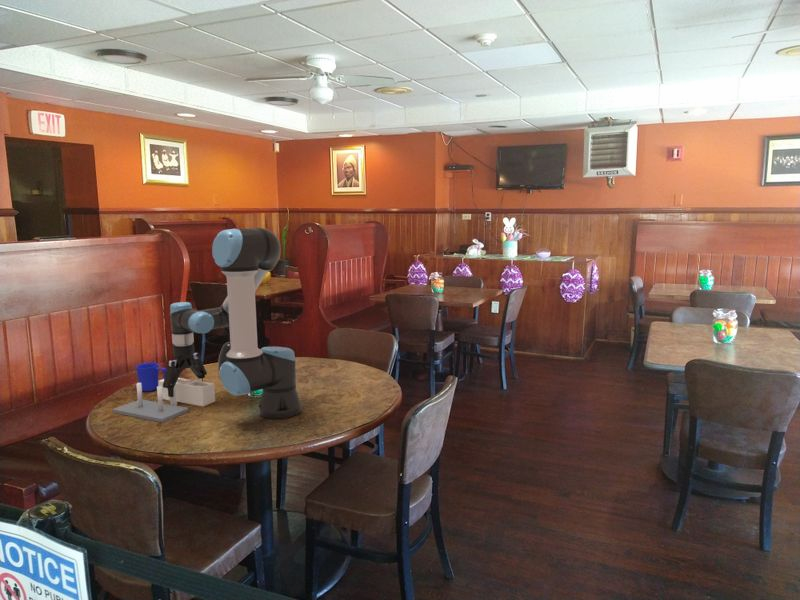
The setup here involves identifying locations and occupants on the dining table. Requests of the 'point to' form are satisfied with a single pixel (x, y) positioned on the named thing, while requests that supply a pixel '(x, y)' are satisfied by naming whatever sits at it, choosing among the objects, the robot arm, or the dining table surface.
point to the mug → (149, 375)
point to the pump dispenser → (223, 354)
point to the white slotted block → (191, 392)
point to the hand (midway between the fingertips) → (186, 399)
